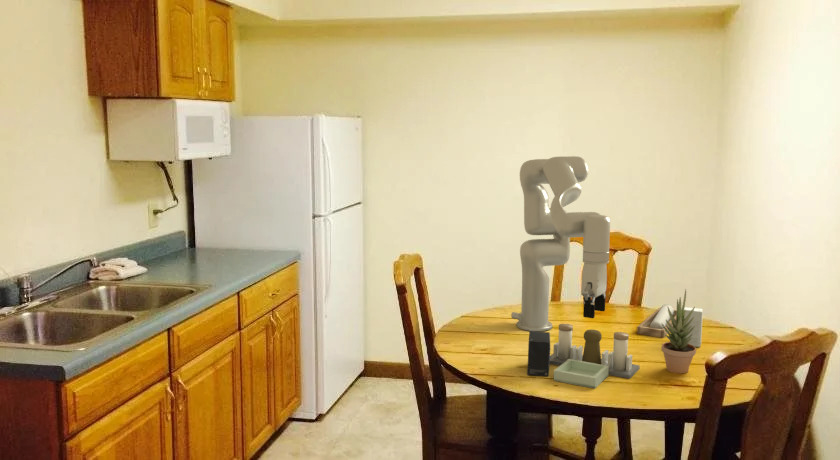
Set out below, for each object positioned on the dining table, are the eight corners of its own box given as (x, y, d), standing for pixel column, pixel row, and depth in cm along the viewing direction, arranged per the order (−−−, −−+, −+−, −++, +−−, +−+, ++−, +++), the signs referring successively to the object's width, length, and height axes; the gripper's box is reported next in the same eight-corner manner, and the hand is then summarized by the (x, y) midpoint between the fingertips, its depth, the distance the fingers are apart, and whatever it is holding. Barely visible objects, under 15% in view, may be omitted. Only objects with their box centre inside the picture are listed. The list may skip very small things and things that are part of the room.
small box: (549, 377, 210) (550, 341, 209) (526, 375, 211) (527, 340, 210) (549, 365, 220) (550, 331, 219) (527, 363, 222) (528, 330, 220)
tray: (553, 380, 207) (553, 370, 207) (568, 368, 217) (568, 358, 217) (594, 388, 201) (595, 378, 200) (608, 375, 211) (608, 365, 211)
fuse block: (544, 362, 222) (545, 327, 220) (556, 354, 231) (557, 319, 229) (630, 378, 209) (631, 340, 207) (639, 368, 217) (641, 332, 215)
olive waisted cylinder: (578, 362, 222) (579, 327, 221) (598, 362, 223) (599, 327, 221) (584, 369, 216) (586, 333, 215) (604, 368, 217) (606, 333, 215)
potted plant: (682, 377, 209) (686, 294, 206) (654, 368, 217) (658, 287, 213) (702, 370, 215) (707, 289, 212) (674, 362, 223) (678, 283, 219)
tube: (666, 325, 250) (676, 308, 272) (651, 318, 252) (662, 302, 274) (660, 338, 252) (671, 320, 274) (645, 332, 254) (657, 314, 276)
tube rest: (637, 333, 253) (637, 326, 253) (658, 314, 278) (658, 307, 278) (663, 337, 248) (664, 330, 248) (683, 317, 273) (683, 311, 273)
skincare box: (701, 343, 241) (703, 308, 240) (700, 347, 238) (702, 311, 236) (681, 341, 244) (683, 306, 242) (680, 345, 240) (682, 309, 238)
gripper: (592, 252, 224) (591, 306, 226) (573, 260, 209) (572, 318, 211) (617, 254, 220) (615, 309, 222) (599, 262, 205) (597, 322, 208)
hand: (594, 314), depth 217 cm, fingers open, 9 cm apart
